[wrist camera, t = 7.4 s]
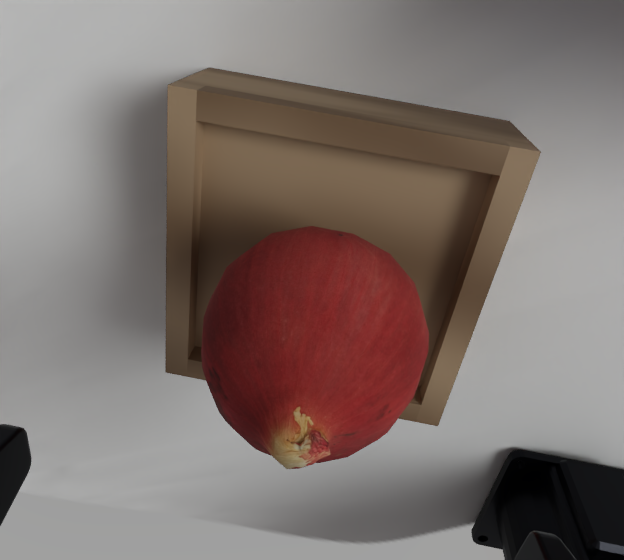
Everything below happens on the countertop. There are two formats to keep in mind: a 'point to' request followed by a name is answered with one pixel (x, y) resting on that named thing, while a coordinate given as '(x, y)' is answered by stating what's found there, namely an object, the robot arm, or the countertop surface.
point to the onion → (313, 344)
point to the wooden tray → (338, 199)
